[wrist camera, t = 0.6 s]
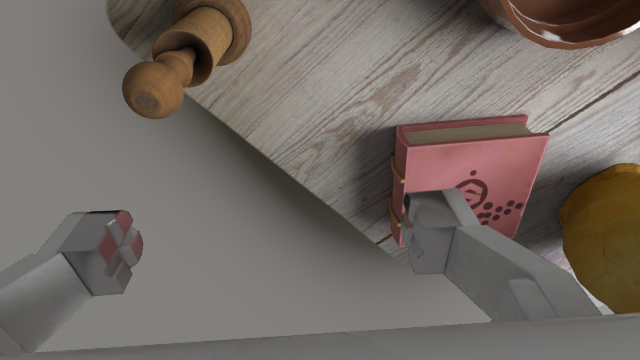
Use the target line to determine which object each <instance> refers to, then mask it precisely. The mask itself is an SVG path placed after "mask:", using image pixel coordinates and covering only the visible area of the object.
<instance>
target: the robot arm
mask: <svg viewBox="0 0 640 360" xmlns="http://www.w3.org/2000/svg"><path fill="white" fill-rule="evenodd" d="M403 204H404V207H405V211H404V212H403V213H402V216H401V232H402V237H403V241H404V244H405V245H406V246H407V247H408V248H409V256H408V257H409V260H410V263H411V266H412V269H413V271H414V274H440V273H444V275H445V276H446V277H447V278H448V279H449V280H450V281H451V282H452V283H454V284H455V285H456V286H457V287H458V288H459V289H460V290H461V291H462V292H463V293H464V294H465V295H466V296H468V297H469V298H470V299H471V300H472V301H473V302H474V303H475V304H476V305H477V306H478V307H479V308H480V309H482V310H483V311H484V312H485V313H486V314H487V315H488V316H489V317H490V318H491V319H492V320H491V322H489V323H474V324H459V325H444V326H429V327H414V328H399V329H384V330H368V331H355V332H354V331H353V332H339V333H323V334H308V335H293V336H278V337H263V338H248V339H233V340H217V341H202V342H187V343H172V344H156V345H141V346H126V347H111V348H96V349H82V350H66V351H52V352H37V353H34V352H35V351H36V350H37V349H38V348H39V347H40V346H41V345H42V344H43V343H44V342H46V341H47V340H48V339H49V338H50V337H51V336H52V335H53V334H54V333H55V332H56V331H57V330H58V329H60V328H61V327H62V326H63V325H64V324H65V323H66V322H67V321H68V320H70V319H71V318H72V317H73V316H74V315H75V314H76V313H77V312H78V311H79V310H80V309H81V308H82V307H84V306H85V305H86V304H87V303H88V302H89V301H90V300H91V299H92V298H93V297H92V296H101V295H112V294H123V292H124V290H125V288H126V286H127V284H128V282H129V280H130V278H131V276H132V272H131V270H130V268H132V267H133V266H134V265H135V264H137V263H138V262H139V260H140V257H141V255H142V249H143V242H142V237H141V235H140V233H139V231H138V230H136V229H135V228H133V227H132V226H131V225H132V222H133V219H132V217H131V215H130V213H129V212H128V211H125V210H116V211H91V212H76V213H72V214H69V215H67V217H66V218H65V219H64V220H63V221H62V223H61V224H60V225H59V226H58V228H57V229H56V230H55V231H54V233H53V234H52V235H51V236H50V238H48V240H47V241H46V242H45V243H44V245H43V246H42V247H41V248H40V250H39V251H38V252H37V253H36V254H30V255H28V256H27V257H25V258H23V259H22V260H20V261H18V262H17V263H15V264H13V265H11V266H10V267H8V268H6V269H5V270H3V271H2V272H0V360H640V313H626V314H612V315H602V314H601V312H600V311H599V310H598V308H597V307H596V306H595V304H594V303H593V302H592V301H591V299H590V298H589V297H588V295H587V294H586V293H585V291H584V290H583V289H582V288H581V286H580V285H579V284H578V282H577V281H576V280H575V279H574V277H573V276H572V275H571V274H570V273H569V272H567V271H565V270H563V269H562V268H560V267H558V266H556V265H555V264H553V263H551V262H550V261H548V260H546V259H544V258H543V257H541V256H539V255H537V254H536V253H534V252H532V251H531V250H529V249H527V248H525V247H524V246H522V245H520V244H518V243H517V242H515V241H513V240H512V239H510V238H508V237H506V236H505V235H503V234H501V233H499V232H498V231H496V230H494V229H493V228H491V227H489V226H487V225H481V224H480V222H479V221H478V219H477V218H476V216H475V214H474V213H473V211H472V209H471V208H470V206H469V205H468V203H467V201H466V200H465V198H464V196H463V195H462V193H461V191H460V190H459V189H457V188H449V189H439V190H430V191H415V192H405V195H404V199H403Z"/></svg>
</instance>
